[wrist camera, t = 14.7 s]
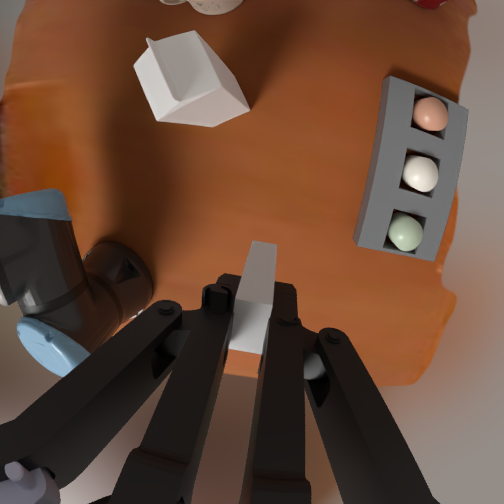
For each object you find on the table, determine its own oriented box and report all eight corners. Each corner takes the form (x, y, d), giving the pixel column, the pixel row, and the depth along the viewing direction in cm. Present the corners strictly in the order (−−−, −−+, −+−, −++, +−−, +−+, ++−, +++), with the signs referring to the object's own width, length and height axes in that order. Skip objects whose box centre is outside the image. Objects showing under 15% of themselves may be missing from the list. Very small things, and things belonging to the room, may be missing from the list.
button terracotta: (432, 134, 33) (445, 135, 29) (406, 124, 33) (418, 124, 29) (436, 106, 31) (449, 104, 27) (410, 95, 31) (422, 92, 28)
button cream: (422, 189, 36) (434, 195, 33) (396, 182, 37) (406, 186, 33) (428, 160, 35) (441, 163, 31) (402, 151, 35) (413, 153, 31)
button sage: (407, 243, 40) (416, 253, 36) (381, 238, 40) (390, 248, 37) (415, 215, 38) (426, 223, 34) (389, 208, 38) (399, 216, 35)
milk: (234, 75, 34) (183, 14, 14) (251, 111, 36) (215, 78, 15) (195, 93, 35) (112, 57, 15) (211, 128, 37) (137, 120, 17)
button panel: (426, 254, 41) (433, 261, 38) (352, 238, 41) (357, 246, 38) (458, 110, 31) (468, 109, 28) (383, 79, 31) (390, 75, 28)
